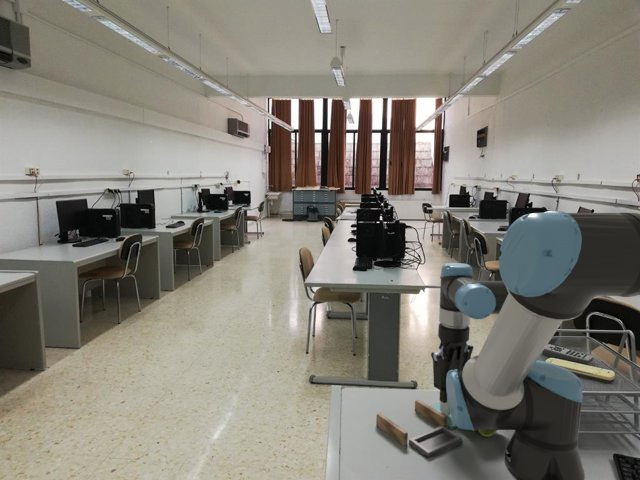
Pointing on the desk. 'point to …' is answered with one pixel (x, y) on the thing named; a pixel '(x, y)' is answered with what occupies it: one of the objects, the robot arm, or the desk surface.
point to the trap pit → (435, 441)
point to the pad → (450, 421)
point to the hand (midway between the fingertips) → (449, 410)
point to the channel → (401, 433)
